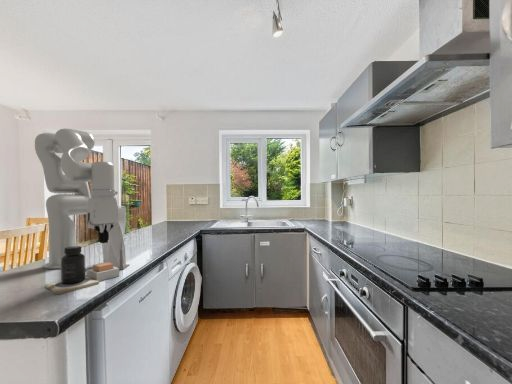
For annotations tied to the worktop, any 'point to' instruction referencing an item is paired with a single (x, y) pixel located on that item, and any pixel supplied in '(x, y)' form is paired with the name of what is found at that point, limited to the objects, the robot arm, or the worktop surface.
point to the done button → (102, 266)
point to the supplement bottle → (72, 266)
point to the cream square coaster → (71, 285)
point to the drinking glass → (105, 251)
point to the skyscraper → (118, 242)
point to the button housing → (103, 274)
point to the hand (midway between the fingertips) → (103, 242)
